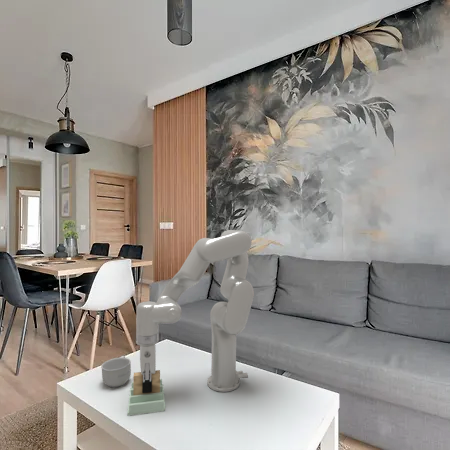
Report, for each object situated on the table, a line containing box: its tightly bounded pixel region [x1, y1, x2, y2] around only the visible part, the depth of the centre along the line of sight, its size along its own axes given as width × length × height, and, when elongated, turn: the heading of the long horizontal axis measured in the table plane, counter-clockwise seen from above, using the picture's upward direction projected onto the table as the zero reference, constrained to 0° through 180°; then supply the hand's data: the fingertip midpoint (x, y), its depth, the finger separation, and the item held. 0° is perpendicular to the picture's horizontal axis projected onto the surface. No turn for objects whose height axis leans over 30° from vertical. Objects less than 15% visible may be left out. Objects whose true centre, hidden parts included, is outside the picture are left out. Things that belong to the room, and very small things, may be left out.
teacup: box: [100, 355, 132, 388], centre depth 122 cm, size 14×11×8 cm
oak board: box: [132, 369, 161, 396], centre depth 109 cm, size 9×3×7 cm, turn 104°
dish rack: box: [127, 378, 166, 417], centre depth 109 cm, size 12×16×3 cm
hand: (147, 389), depth 109 cm, fingers closed on oak board, 2 cm apart
